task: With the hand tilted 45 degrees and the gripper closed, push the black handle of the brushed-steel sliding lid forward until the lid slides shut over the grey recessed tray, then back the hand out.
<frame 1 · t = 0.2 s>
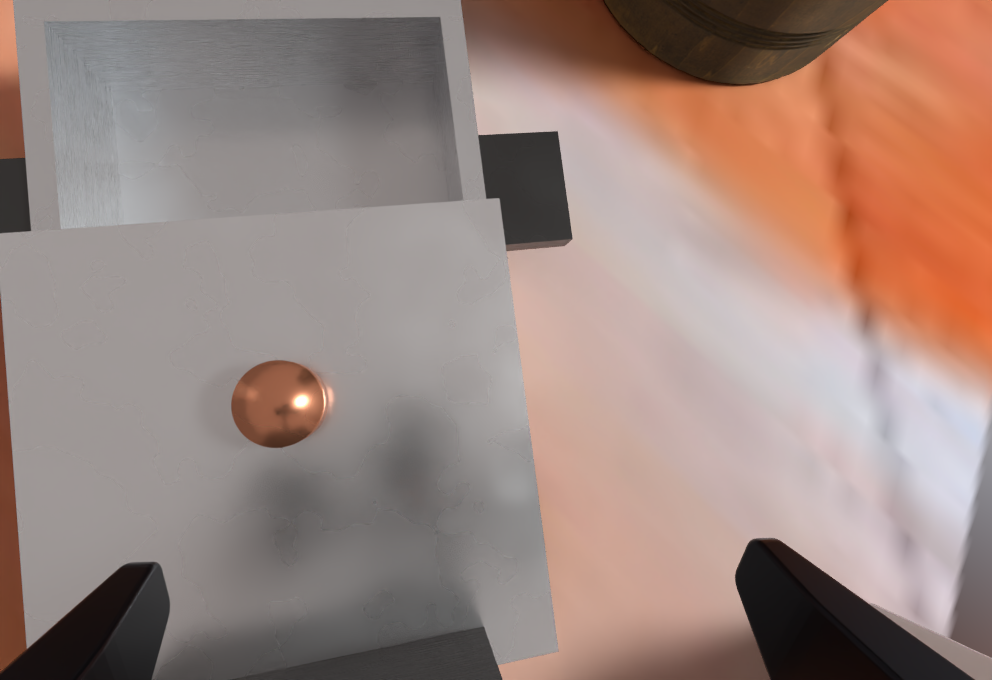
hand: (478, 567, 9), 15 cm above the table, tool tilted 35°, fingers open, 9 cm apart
lid: (281, 459, 15), point 8 cm above the table, slide at 8.0 cm
grey recessed tray: (300, 241, 23), on the table
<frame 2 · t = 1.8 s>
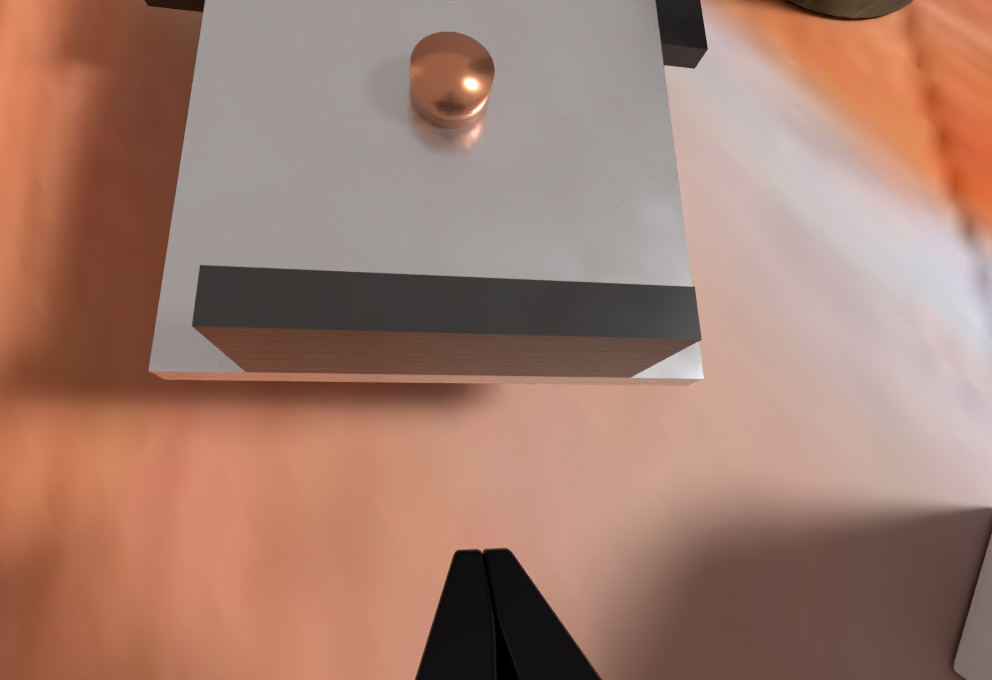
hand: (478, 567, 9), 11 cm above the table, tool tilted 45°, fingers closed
lid: (453, 105, 15), point 8 cm above the table, slide at 8.0 cm
grey recessed tray: (437, 68, 25), on the table
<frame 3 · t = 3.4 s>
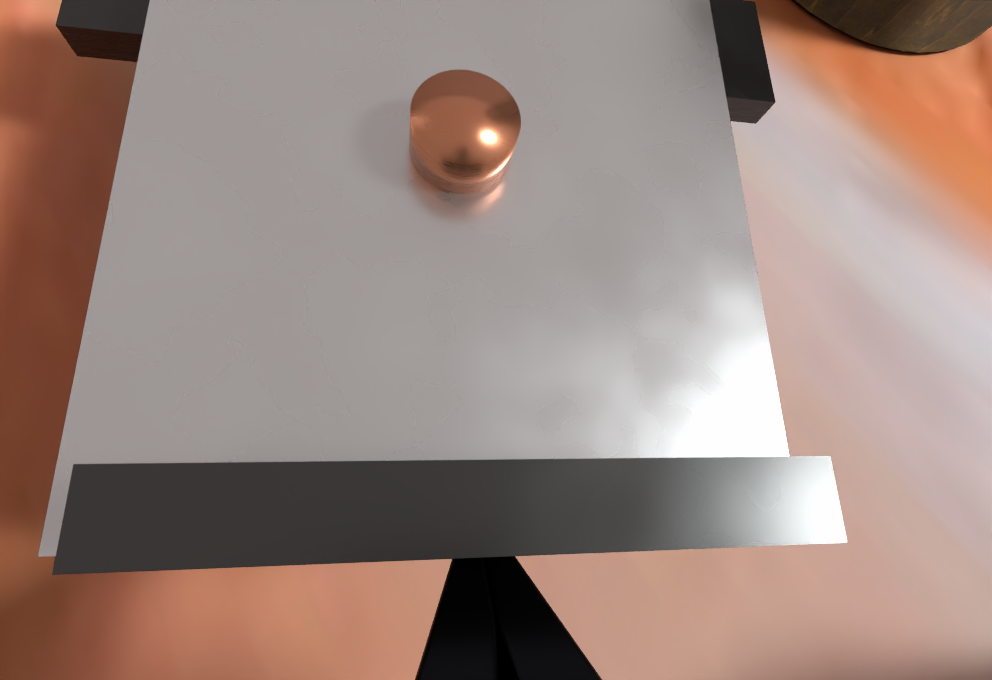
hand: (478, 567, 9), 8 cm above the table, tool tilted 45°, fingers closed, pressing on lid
lid: (468, 170, 11), point 8 cm above the table, slide at 7.2 cm, touching gripper
grey recessed tray: (441, 119, 21), on the table
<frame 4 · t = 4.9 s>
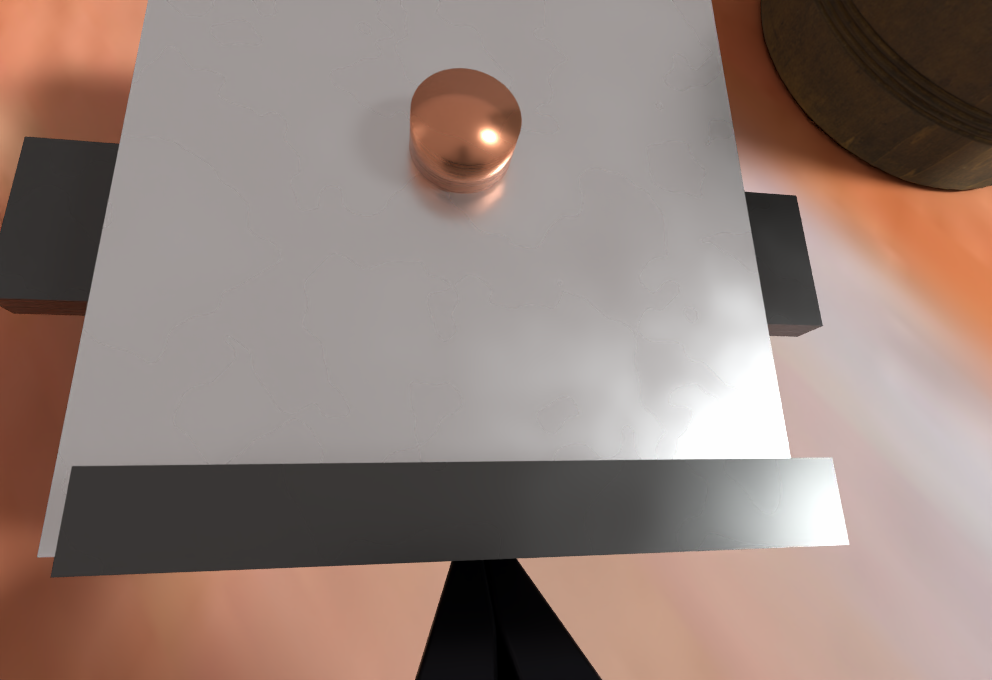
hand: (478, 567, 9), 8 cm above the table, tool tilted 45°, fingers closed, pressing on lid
wooden container: (898, 56, 26), on the table
lid: (468, 169, 11), point 8 cm above the table, slide at -0.1 cm, touching gripper
grey recessed tray: (441, 303, 18), on the table
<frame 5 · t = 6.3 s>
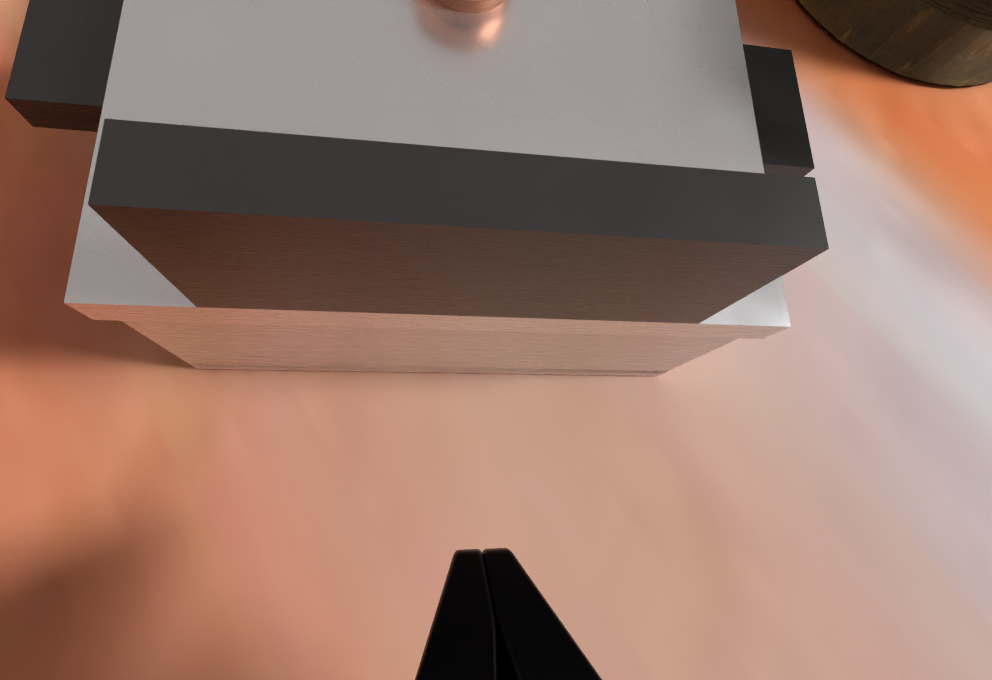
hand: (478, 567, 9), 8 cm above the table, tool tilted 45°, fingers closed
grey recessed tray: (443, 171, 19), on the table
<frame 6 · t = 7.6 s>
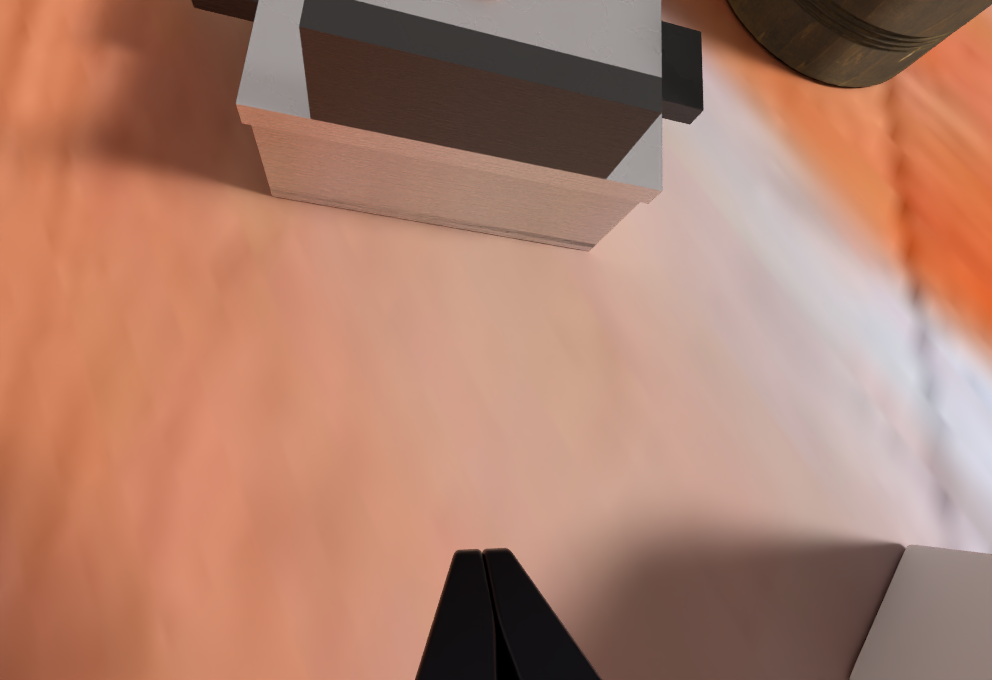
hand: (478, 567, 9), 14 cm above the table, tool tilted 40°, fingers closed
milk carton: (928, 656, 25), on the table
grey recessed tray: (454, 89, 26), on the table
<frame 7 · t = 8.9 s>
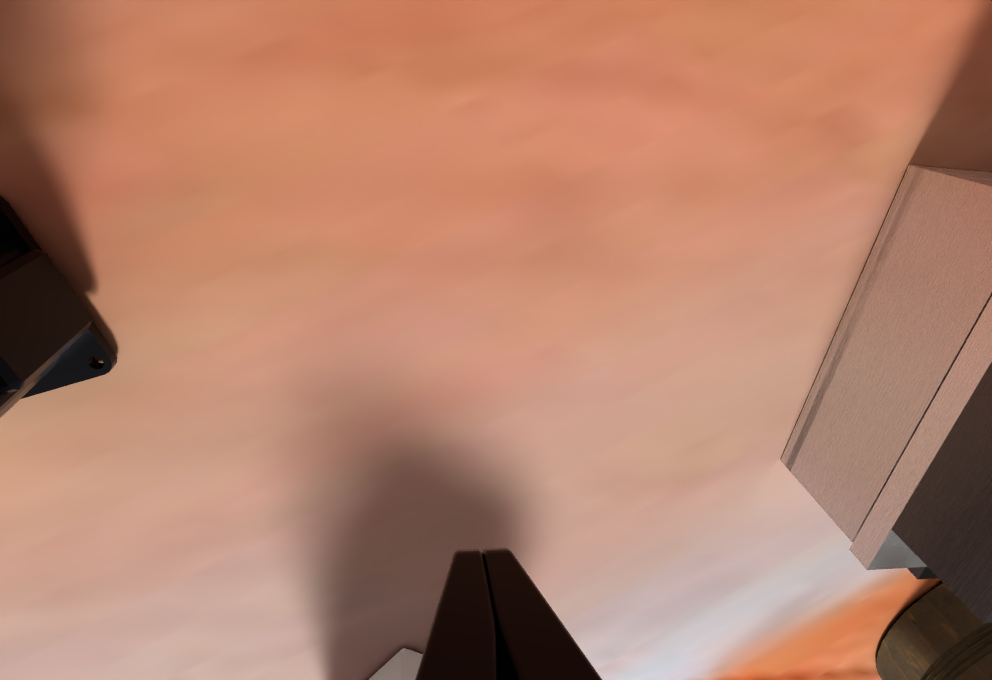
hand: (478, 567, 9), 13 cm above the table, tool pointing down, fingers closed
wooden container: (977, 619, 37), on the table
grey recessed tray: (973, 336, 25), on the table
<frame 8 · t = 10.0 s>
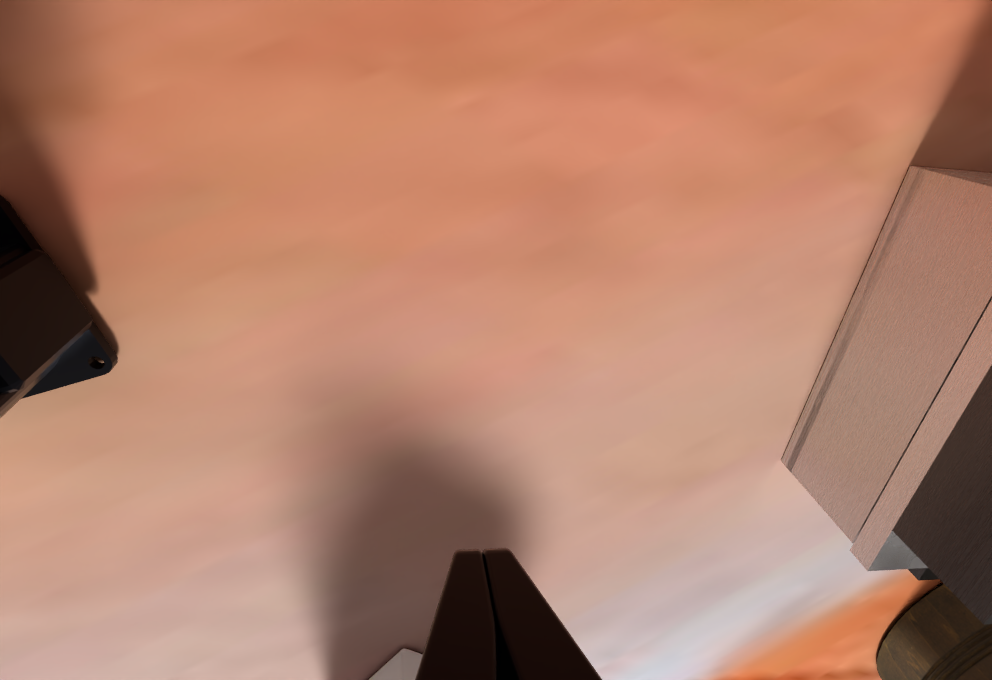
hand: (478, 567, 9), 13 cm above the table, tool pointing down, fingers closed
wooden container: (977, 620, 37), on the table
grey recessed tray: (974, 337, 25), on the table
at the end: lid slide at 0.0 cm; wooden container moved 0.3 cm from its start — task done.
